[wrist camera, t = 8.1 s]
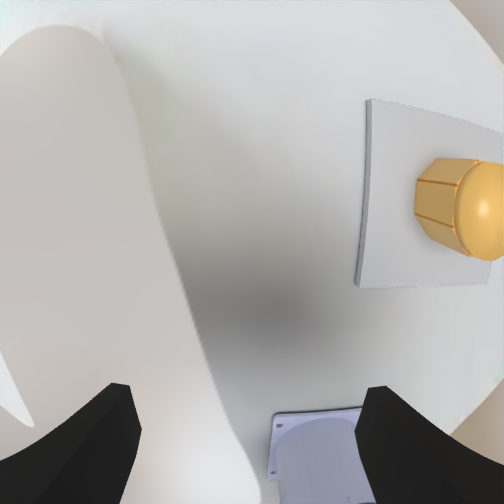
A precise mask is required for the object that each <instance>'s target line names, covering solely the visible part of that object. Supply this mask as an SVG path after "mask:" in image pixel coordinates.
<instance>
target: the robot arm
mask: <svg viewBox="0 0 504 504" xmlns="http://www.w3.org/2000/svg"><path fill="white" fill-rule="evenodd" d="M279 423H280V424H279ZM141 430H142V428H141V425H140V422H139V419H138V415H137V412H136V408H135V405H134V401H133V397H132V393H131V390H130V386H129V385H123V384H117V383H111V384H110V385H108V386H107V387H106V388H105V389H103V390H102V391H101V392H100V393H99V394H98V395H96V396H95V397H94V398H93V399H92V400H90V401H89V402H88V403H87V404H86V405H85V406H83V407H82V408H81V409H80V410H78V411H77V412H76V413H75V414H74V415H73V416H71V417H70V418H69V419H67V420H66V421H65V422H64V423H62V424H61V425H59V426H58V427H57V428H55V429H54V430H53V431H51V432H50V433H49V434H47V435H46V436H44V437H43V438H41V439H40V440H38V441H37V442H35V443H33V444H32V445H30V446H28V447H27V448H25V449H23V450H21V451H20V452H18V453H16V454H14V455H12V456H10V457H8V458H5V459H3V460H1V461H0V504H119V503H120V500H121V497H122V495H123V492H124V489H125V486H126V483H127V481H128V478H129V475H130V472H131V469H132V466H133V464H134V461H135V458H136V454H137V450H138V445H139V440H140V435H141ZM267 479H269V480H278V486H279V497H280V504H504V465H502V464H499V463H497V462H495V461H492V460H490V459H488V458H486V457H484V456H482V455H480V454H478V453H476V452H474V451H473V450H471V449H469V448H467V447H466V446H464V445H462V444H461V443H459V442H458V441H456V440H455V439H453V438H452V437H450V436H449V435H447V434H446V433H444V432H443V431H442V430H440V429H439V428H438V427H436V426H435V425H434V424H432V423H431V422H430V421H428V420H427V419H426V418H425V417H423V416H422V415H421V414H420V413H419V412H417V411H416V410H415V409H414V408H412V407H411V406H410V405H409V404H408V403H406V402H405V401H404V400H403V399H402V398H400V397H399V396H398V395H397V394H396V393H394V392H393V391H392V390H391V389H389V388H388V387H387V386H380V387H372V388H368V391H367V394H366V397H365V400H364V403H363V407H362V408H356V409H347V410H337V411H326V412H312V413H294V414H277V415H275V416H274V417H273V424H272V434H271V443H270V452H269V461H268V470H267Z"/></svg>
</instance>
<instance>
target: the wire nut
mask: <svg viewBox="0 0 504 504" xmlns="http://www.w3.org/2000/svg"><path fill="white" fill-rule="evenodd" d="M417 179H418V180H419V181H416V190H415V203H414V213H416V214H415V217H416V218H417V220H418V222H419V223H420V225H421V226H422V228H423V229H424V231H425V232H426V234H427V235H428V237H429V238H430V239H432V240H434V241H436V242H438V243H440V244H442V245H445V246H447V247H449V248H451V249H453V250H455V251H457V252H459V253H461V254H463V255H465V256H467V257H477V258H479V259H481V260H484V261H493V260H496V259H498V258H500V257H501V256H503V255H504V165H502V164H500V163H494V162H486V161H482V160H478V159H450V158H438V159H435V160H434V161H433V162H432V163H431V164H430V165H429V167H428V168H427V169H426V170H425V171H424V172H423V173H422V174H421V175H420V176H419V177H418V178H417Z"/></svg>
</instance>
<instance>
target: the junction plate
mask: <svg viewBox="0 0 504 504" xmlns="http://www.w3.org/2000/svg"><path fill="white" fill-rule="evenodd" d="M438 158H450V159H478V160H482V161H486V162H494V163H500V164H502V165H503V134H502V133H499V132H496V131H494V130H491V129H488V128H485V127H482V126H479V125H476V124H473V123H470V122H467V121H464V120H461V119H457V118H454V117H451V116H447V115H443V114H440V113H436V112H432V111H428V110H424V109H420V108H416V107H412V106H407V105H403V104H398V103H393V102H388V101H383V100H378V99H372V98H371V99H369V100H367V138H366V171H365V190H364V205H363V217H362V229H361V239H360V249H359V258H358V266H357V274H356V281H355V284H356V285H357V286H358V287H359V288H394V287H428V286H453V285H474V284H487V283H488V279H489V274H490V269H491V265H492V261H484V260H481V259H479V258H477V257H467V256H465V255H463V254H461V253H459V252H457V251H455V250H453V249H451V248H449V247H447V246H445V245H442V244H440V243H438V242H436V241H434V240H432V239H430V238H429V237H428V235H427V234H426V232H425V231H424V229H423V228H422V226H421V225H420V223H419V222H418V220H417V218H416V217H415V214H416V213H414V203H415V190H416V181H419V180H418V179H417V178H418V177H419V176H420V175H421V174H422V173H423V172H424V171H425V170H426V169H427V168H428V167H429V165H430V164H431V163H432V162H433V161H434V160H435V159H438Z"/></svg>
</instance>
